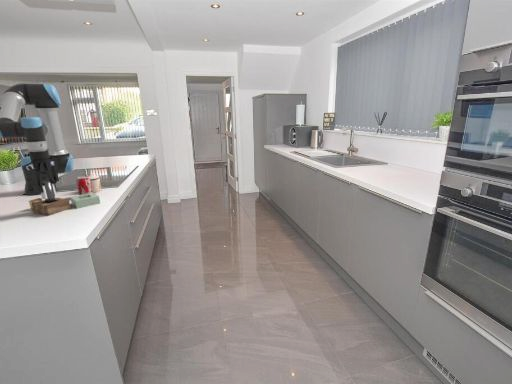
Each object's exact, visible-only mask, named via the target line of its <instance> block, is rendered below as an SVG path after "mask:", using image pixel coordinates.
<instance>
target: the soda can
mask: <svg viewBox="0 0 512 384" xmlns="http://www.w3.org/2000/svg"><path fill="white" fill-rule="evenodd" d="M75 183H76V187H77V193H78V195H83V194H89V193H93V191H92V186H91V181H90V179H89V178H88V175H84V176H83V175H81V176H77V177H76V182H75Z"/></svg>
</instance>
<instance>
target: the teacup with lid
mask: <svg viewBox="0 0 512 384" xmlns="http://www.w3.org/2000/svg"><path fill="white" fill-rule="evenodd" d="M87 176H88V178H89V179H90V181H91V186H92V191H93V193H94V194H95V193H99V192H101V191H102V185H101V179H100V178H101V177H100V176H99V175H96V174H93V173H92V172H90V173H88V175H87Z"/></svg>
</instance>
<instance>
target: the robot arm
mask: <svg viewBox="0 0 512 384" xmlns="http://www.w3.org/2000/svg"><path fill="white" fill-rule="evenodd" d="M1 100H2V104H1V107H0V139H1V140H2V139H12V138H13V139H16V138H25V144H26V148H27V150H28V156H25V157H22V158H20V167H21V170H22V173H23V176H24V177H23V178H24V181H25V184H24V190H23V191H24V194H25V195H27V196H37V195H41V198H42V200H45V199H48V198H47V194H46V190H45V186H42V185H43V184H42V182H45V181H51V184H52V188H53V193H54V197H57V192H56V190H57V185H56V184H57V183H58V182H59V181H60V180H59V174H60V175H61V174H68V173H69V174H70V173H72V172H73V170H74V157H73V154H70V152H69V151H68V150H67V149H66V146H65V141H64V137H63V133H62V127H61V124H60V119H59V116H58V115H59V114H58V110H59V109H60V107H59V106H61V105H62V101H61V97H60V94H59V93H58V90H57V89H56V87H55V86H54V84H53V85H52V84H48V83H17V84H13V85H12V86H10V87H8V88H6V90H4V92H3V94H2V96H1ZM25 106H34V108H35V109H36V111H38V112H39V116H27V117H26V116H24V117H21V118H20V115H21V111H22V108H23V107H25ZM19 119H20V121H19Z"/></svg>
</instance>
